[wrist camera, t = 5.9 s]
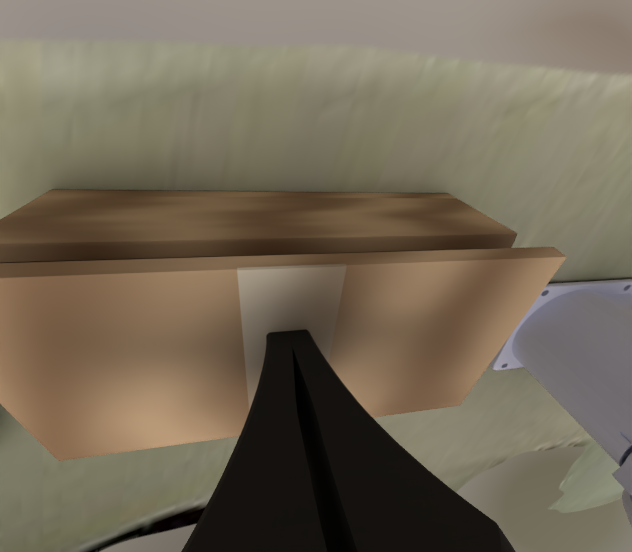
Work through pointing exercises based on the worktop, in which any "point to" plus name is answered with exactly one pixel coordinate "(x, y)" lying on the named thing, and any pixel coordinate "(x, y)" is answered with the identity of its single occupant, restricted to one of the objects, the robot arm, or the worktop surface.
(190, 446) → the worktop surface
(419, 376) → the lid
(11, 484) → the worktop surface
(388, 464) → the robot arm
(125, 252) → the box
